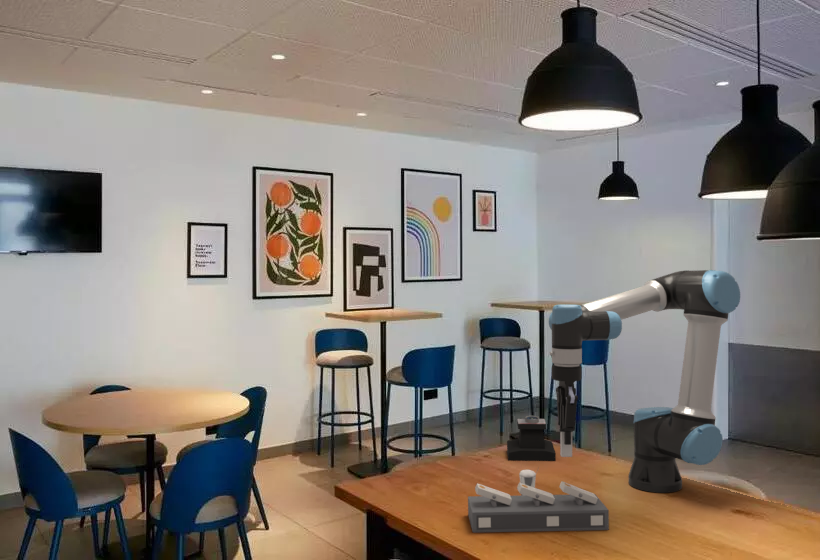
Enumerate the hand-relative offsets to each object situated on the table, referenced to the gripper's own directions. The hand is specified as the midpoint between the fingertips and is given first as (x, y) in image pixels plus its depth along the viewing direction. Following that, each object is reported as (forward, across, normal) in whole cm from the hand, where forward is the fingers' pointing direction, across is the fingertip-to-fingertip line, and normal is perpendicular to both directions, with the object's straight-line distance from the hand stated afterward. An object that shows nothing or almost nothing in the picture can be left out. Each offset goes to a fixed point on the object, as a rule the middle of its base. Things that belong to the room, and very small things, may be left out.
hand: (566, 456), depth 176 cm
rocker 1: (+10, -1, -19) cm, 21 cm away
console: (+17, -1, -8) cm, 19 cm away
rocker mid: (+10, 0, -8) cm, 12 cm away
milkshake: (+17, -15, -6) cm, 24 cm away
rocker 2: (+10, 0, +3) cm, 10 cm away
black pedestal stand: (+17, -63, +3) cm, 66 cm away
